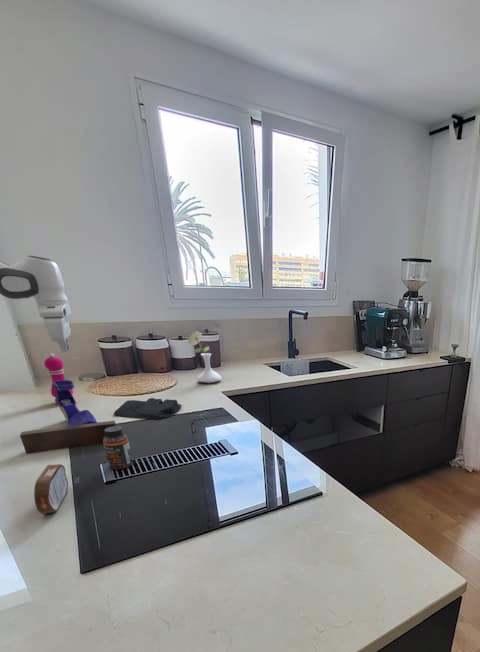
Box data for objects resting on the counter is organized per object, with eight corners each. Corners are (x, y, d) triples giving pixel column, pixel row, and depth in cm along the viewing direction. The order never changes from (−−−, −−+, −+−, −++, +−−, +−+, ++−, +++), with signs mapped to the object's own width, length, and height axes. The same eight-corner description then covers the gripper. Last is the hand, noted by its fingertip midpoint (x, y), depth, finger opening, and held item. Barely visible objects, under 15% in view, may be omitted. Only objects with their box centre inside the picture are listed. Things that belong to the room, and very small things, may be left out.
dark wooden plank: (26, 453, 117) (19, 435, 114) (28, 450, 119) (21, 431, 117) (118, 440, 127) (114, 423, 125) (119, 437, 130) (114, 420, 127)
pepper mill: (51, 402, 160) (36, 353, 152) (71, 398, 166) (57, 351, 158) (58, 406, 157) (43, 355, 148) (78, 402, 162) (65, 353, 154)
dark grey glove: (135, 404, 162) (133, 392, 160) (186, 407, 160) (184, 396, 158) (109, 416, 148) (106, 404, 146) (164, 419, 146) (162, 407, 144)
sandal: (75, 435, 130) (63, 391, 124) (59, 420, 142) (47, 379, 136) (103, 429, 136) (92, 387, 130) (85, 415, 148) (75, 376, 142)
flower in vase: (215, 377, 204) (209, 328, 194) (225, 382, 197) (219, 330, 187) (190, 381, 196) (182, 330, 186) (199, 386, 189) (192, 332, 178)
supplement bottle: (105, 470, 108) (95, 433, 104) (114, 461, 114) (105, 425, 109) (129, 469, 109) (120, 432, 105) (136, 460, 115) (128, 424, 110)
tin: (58, 489, 99) (48, 459, 96) (73, 486, 100) (64, 457, 97) (39, 521, 86) (27, 488, 83) (56, 518, 87) (45, 485, 84)
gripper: (48, 307, 139) (59, 346, 145) (37, 312, 123) (50, 356, 129) (69, 306, 142) (79, 345, 148) (62, 312, 126) (73, 355, 132)
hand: (66, 350), depth 138 cm, fingers open, 3 cm apart
